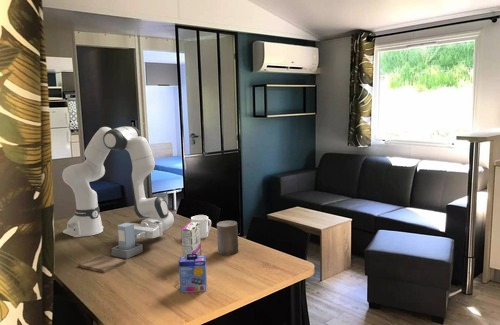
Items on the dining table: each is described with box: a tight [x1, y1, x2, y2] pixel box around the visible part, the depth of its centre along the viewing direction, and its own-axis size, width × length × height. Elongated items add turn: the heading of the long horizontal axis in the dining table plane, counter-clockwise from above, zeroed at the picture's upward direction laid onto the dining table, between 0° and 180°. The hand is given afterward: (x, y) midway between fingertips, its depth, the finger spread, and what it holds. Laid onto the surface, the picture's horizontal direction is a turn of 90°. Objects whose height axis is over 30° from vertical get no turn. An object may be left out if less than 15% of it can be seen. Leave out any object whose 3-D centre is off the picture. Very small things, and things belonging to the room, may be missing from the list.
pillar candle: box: [216, 220, 240, 256], centre depth 190 cm, size 10×10×15 cm
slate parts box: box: [116, 222, 136, 250], centre depth 191 cm, size 5×6×14 cm
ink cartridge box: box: [178, 254, 208, 293], centre depth 152 cm, size 10×6×14 cm, turn 95°
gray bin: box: [111, 242, 144, 260], centre depth 192 cm, size 10×10×4 cm
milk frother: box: [151, 192, 169, 205], centre depth 246 cm, size 14×16×15 cm
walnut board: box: [78, 254, 127, 274], centre depth 179 cm, size 16×12×1 cm
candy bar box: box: [180, 221, 202, 257], centre depth 179 cm, size 11×5×16 cm, turn 168°
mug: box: [190, 214, 212, 240], centre depth 213 cm, size 11×9×10 cm
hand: (128, 235), depth 192 cm, fingers open, 8 cm apart
